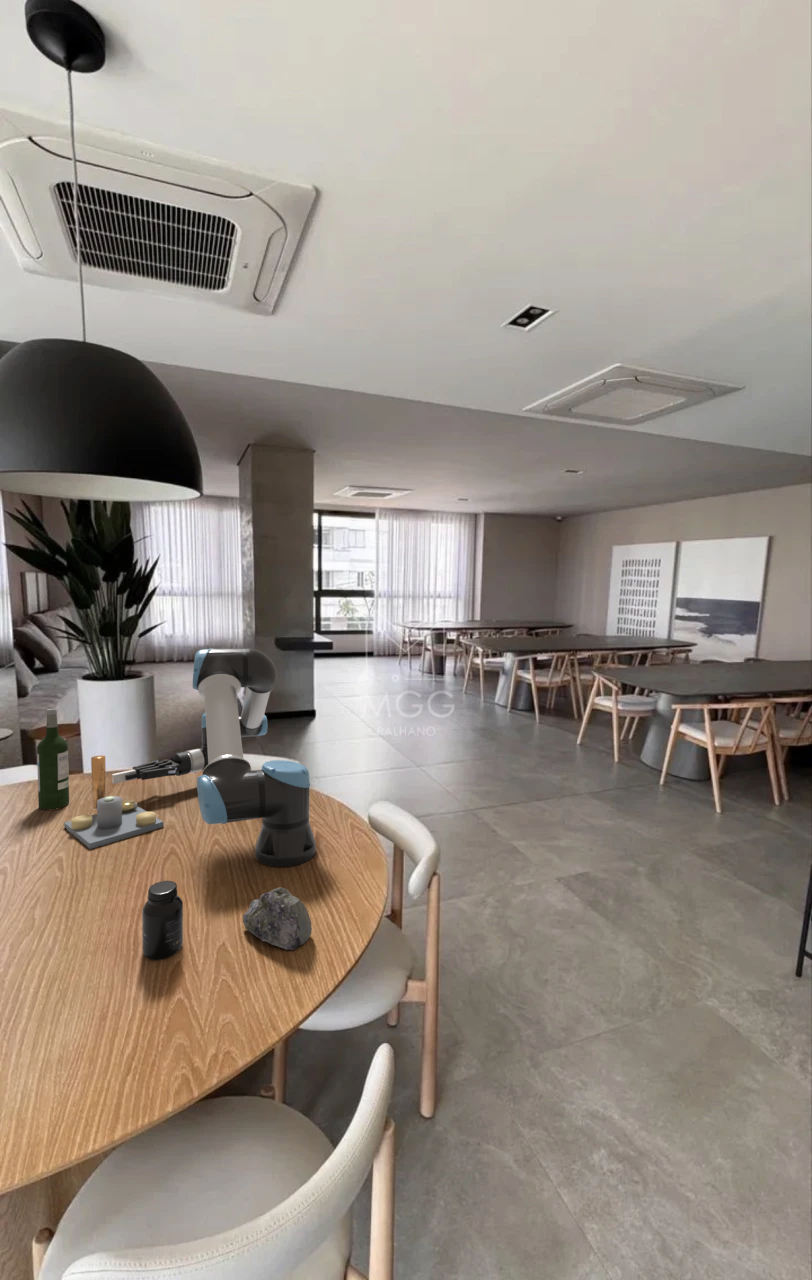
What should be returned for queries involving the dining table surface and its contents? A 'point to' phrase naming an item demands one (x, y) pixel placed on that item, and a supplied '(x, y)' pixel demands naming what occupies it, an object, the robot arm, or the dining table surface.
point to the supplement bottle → (162, 921)
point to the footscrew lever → (104, 784)
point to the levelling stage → (114, 833)
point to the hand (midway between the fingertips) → (112, 779)
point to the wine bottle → (52, 766)
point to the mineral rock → (279, 919)
